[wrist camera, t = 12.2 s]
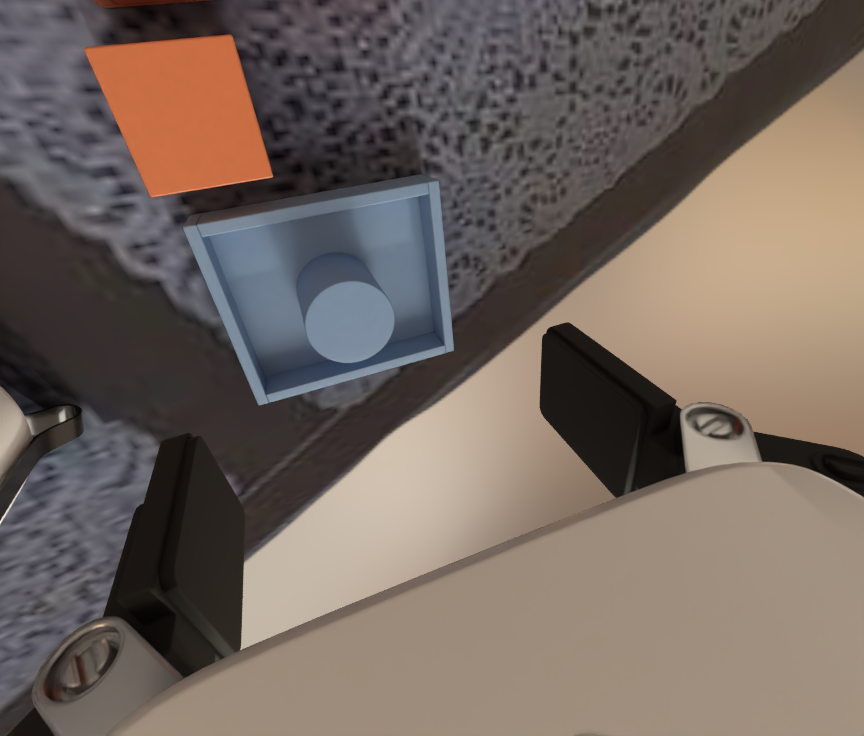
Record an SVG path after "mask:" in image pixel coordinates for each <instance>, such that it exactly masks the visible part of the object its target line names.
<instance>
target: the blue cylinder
mask: <svg viewBox="0 0 864 736" xmlns="http://www.w3.org/2000/svg"><path fill="white" fill-rule="evenodd" d="M297 296H298V301H299V305H300V309H301V314H302V318H303V323H304V327H305V332H306V335H307V338H308V340H309V342H310V344H311V345H312V347H313V348H314V349H315V350H316V351H317V352H318V353H319V354H321V355H322V356H324V357H326V358H327V359H330V360H333V361H336V362H342V363H352V362H358V361H362V360H365V359H367V358H369V357H371V356H373V355H375V354H376V353H377V352H379V351H380V350H381V349H382V348H383V347H384V346H385V344H386V343H387V342H388V340H389V339H390V337H391V334H392V332H393V328H394V322H395V316H394V310H393V307H392V304H391V302H390V300H389V299H388V297H387V296H386V294H385V293H384V291H383V290H382V288H381V287H380V286H379V284H378V283H377V281H376V280H375V278H374V277H373V276H372V274H371V273H370V271H369V270H368V268H367V267H366V266H365V265H364V264H363V263H362V262H361V261H360V260H358V259H357V258H355V257H353V256H351V255H349V254H345V253H338V252H336V253H327V254H323V255H320V256H318V257H316V258H314V259H313V260H312V261H310V262H309V263H308V264H307V265H306V266H305V267H304V269H303V270H302V272H301V274H300V276H299V278H298V282H297Z"/></svg>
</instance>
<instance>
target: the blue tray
mask: <svg viewBox="0 0 864 736" xmlns="http://www.w3.org/2000/svg"><path fill="white" fill-rule="evenodd" d="M183 230H184V232H185V235H186V237H187V239H188V242H189V244H190V246H191V249H192V251H193V253H194V256H195V258H196V260H197V263H198V265H199V267H200V270H201V272H202V275H203V277H204V279H205V282H206V284H207V286H208V289H209V291H210V293H211V296H212V298H213V300H214V303H215V305H216V307H217V310H218V312H219V314H220V317H221V319H222V321H223V324H224V326H225V328H226V331H227V333H228V335H229V338H230V340H231V342H232V345H233V347H234V349H235V352H236V354H237V356H238V359H239V361H240V363H241V366H242V368H243V370H244V373H245V375H246V377H247V380H248V382H249V384H250V387H251V389H252V392H253V394H254V396H255V399H256V401H257V403H258V405H262V404H266V403H268V402H273V401H277V400H280V399H284V398H287V397H291V396H295V395H298V394H302V393H305V392H309V391H312V390H316V389H319V388H323V387H326V386H330V385H333V384H337V383H341V382H344V381H348V380H351V379H355V378H358V377H362V376H365V375H369V374H372V373H376V372H380V371H383V370H387V369H390V368H394V367H397V366H401V365H404V364H408V363H411V362H415V361H418V360H422V359H426V358H429V357H433V356H436V355H440V354H443V353H445V352H450V351H453V350H454V344H453V333H452V322H451V311H450V300H449V289H448V277H447V266H446V255H445V244H444V233H443V222H442V211H441V200H440V189H439V181H438V180H437V179H434V178H432V177H429V176H427V175H424V174H420V175H414V176H408V177H403V178H397V179H392V180H386V181H380V182H375V183H369V184H363V185H358V186H352V187H346V188H341V189H335V190H330V191H324V192H318V193H313V194H307V195H301V196H296V197H290V198H285V199H279V200H273V201H268V202H262V203H256V204H251V205H245V206H240V207H234V208H228V209H223V210H217V211H211V212H206V213H200V214H195V215H190V216H189V217H188V219H187V221H186V222H185V224H184V226H183ZM336 252H338V253H345V254H349V255H351V256H353V257H355V258H357V259H358V260H360V261H361V262H362V263H363V264H364V265H365V266H366V267H367V268H368V270H369V271H370V273H371V274H372V276H373V277H374V278H375V280H376V281H377V283H378V284H379V286H380V287H381V288H382V290H383V291H384V293H385V294H386V296H387V297H388V299H389V300H390V302H391V304H392V307H393V310H394V316H395V322H394V328H393V332H392V334H391V337H390V339H389V340H388V342H387V343H386V344H385V346H384V347H383V348H382V349H381V350H380V351H379V352H377V353H376V354H375V355H373V356H371V357H369V358H367V359H365V360H362V361H358V362H352V363H342V362H336V361H333V360H330V359H327V358H326V357H324V356H322V355H321V354H319V353H318V352H317V351H316V350H315V349H314V348H313V347H312V345H311V344H310V342H309V340H308V338H307V335H306V332H305V327H304V323H303V318H302V314H301V309H300V305H299V301H298V296H297V282H298V278H299V276H300V274H301V272H302V270H303V269H304V267H305V266H306V265H307V264H308V263H309V262H310V261H312V260H313V259H314V258H316V257H318V256H320V255H323V254H327V253H336Z"/></svg>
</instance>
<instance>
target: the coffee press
mask: <svg viewBox="0 0 864 736" xmlns="http://www.w3.org/2000/svg"><path fill="white" fill-rule="evenodd" d="M83 431H84V428H83V417H82V409H81V408H80V407H79V406H76V405H71V404H63V405H57V406H53V407H50V408H46V409H43V410H40V411H37V412H33V413H30V414H25V415H24V414H23V412H22V411H21V409H20V408H19V406H18V405H17V403H16V402H15V401H14V400H13V398H12V397H11V396H10V395H9V394H8V393H7V392H6V391H5V390H4V389H3V388H2V387H1V386H0V524H1V522H2V521H3V519H4V517H5V516H6V514H7V512H8V511H9V509H10V507H11V506H12V504H13V502H14V500H15V499H16V497H17V495H18V494H19V492H20V490H21V488H22V487H23V485H24V483H25V481H26V479H27V477H28V475H29V474H30V472H31V471H32V469H33V468H34V466H35V465H36V463H37V462H38V461H39V460H40V458H41V457H43V456H44V455H45V454H47V453H48V452H50V451H52V450H53V449H55V448H57V447H59V446H61V445H63V444H65V443H67V442H69V441H71V440H73V439H75V438H77V437H79V436H80V435H81V434H82V433H83ZM35 434H38V435H36V436H35V437H34V438H32V435H35Z"/></svg>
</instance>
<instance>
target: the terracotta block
mask: <svg viewBox="0 0 864 736" xmlns="http://www.w3.org/2000/svg"><path fill="white" fill-rule="evenodd" d="M84 51H85V53H86V55H87V57H88V60H89V62H90V64H91V66H92V69H93V71H94V73H95V75H96V77H97V80H98V82H99V84H100V86H101V89H102V91H103V93H104V95H105V97H106V100H107V102H108V104H109V106H110V108H111V111H112V113H113V115H114V117H115V120H116V122H117V124H118V126H119V128H120V131H121V133H122V135H123V137H124V140H125V142H126V144H127V146H128V148H129V151H130V153H131V155H132V157H133V159H134V162H135V164H136V166H137V168H138V171H139V173H140V175H141V177H142V179H143V182H144V184H145V186H146V188H147V191H148V193H149V195H150V196H151V197H158V196H164V195H170V194H176V193H182V192H188V191H194V190H200V189H206V188H212V187H218V186H224V185H230V184H236V183H242V182H248V181H254V180H260V179H266V178H272V177H273V173H272V169H271V165H270V162H269V158H268V155H267V152H266V148H265V145H264V141H263V138H262V134H261V131H260V127H259V124H258V121H257V117H256V114H255V110H254V107H253V103H252V100H251V96H250V93H249V89H248V86H247V83H246V79H245V76H244V72H243V69H242V65H241V62H240V58H239V55H238V52H237V48H236V45H235V42H234V39H233V36H232V35H230V34H229V35H218V36H207V37H196V38H184V39H173V40H162V41H151V42H140V43H128V44H117V45H106V46H95V47H85V48H84Z"/></svg>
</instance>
